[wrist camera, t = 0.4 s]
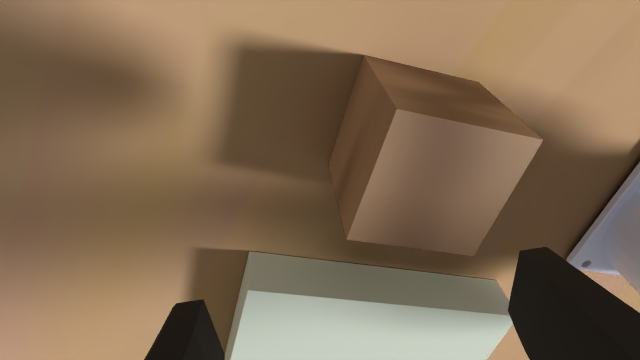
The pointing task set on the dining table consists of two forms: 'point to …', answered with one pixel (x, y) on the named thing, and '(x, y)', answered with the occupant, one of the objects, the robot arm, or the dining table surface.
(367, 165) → the walnut cube
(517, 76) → the dining table surface
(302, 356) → the base
